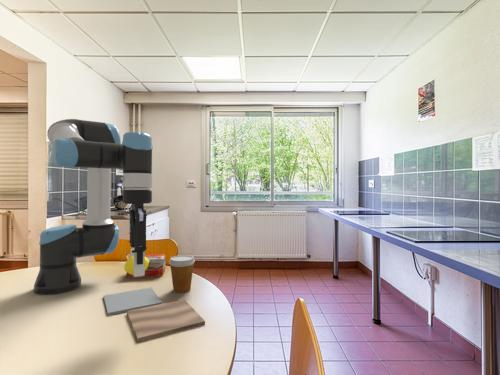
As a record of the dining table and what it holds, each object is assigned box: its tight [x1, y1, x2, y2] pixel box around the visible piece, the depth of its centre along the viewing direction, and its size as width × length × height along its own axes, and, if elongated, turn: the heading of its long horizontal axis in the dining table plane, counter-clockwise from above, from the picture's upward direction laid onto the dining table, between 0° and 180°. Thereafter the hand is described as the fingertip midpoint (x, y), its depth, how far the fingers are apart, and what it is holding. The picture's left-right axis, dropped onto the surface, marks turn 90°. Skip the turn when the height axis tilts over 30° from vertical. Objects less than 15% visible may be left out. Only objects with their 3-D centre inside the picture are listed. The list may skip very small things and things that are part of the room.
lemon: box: [123, 256, 149, 275], centre depth 79 cm, size 7×5×5 cm
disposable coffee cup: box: [168, 254, 196, 293], centre depth 108 cm, size 10×10×12 cm
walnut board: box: [126, 299, 206, 343], centre depth 84 cm, size 18×18×1 cm
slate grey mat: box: [103, 287, 163, 316], centre depth 97 cm, size 16×16×1 cm
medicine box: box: [126, 253, 166, 279], centre depth 127 cm, size 15×8×8 cm, turn 100°
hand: (137, 272), depth 79 cm, fingers closed on lemon, 5 cm apart
